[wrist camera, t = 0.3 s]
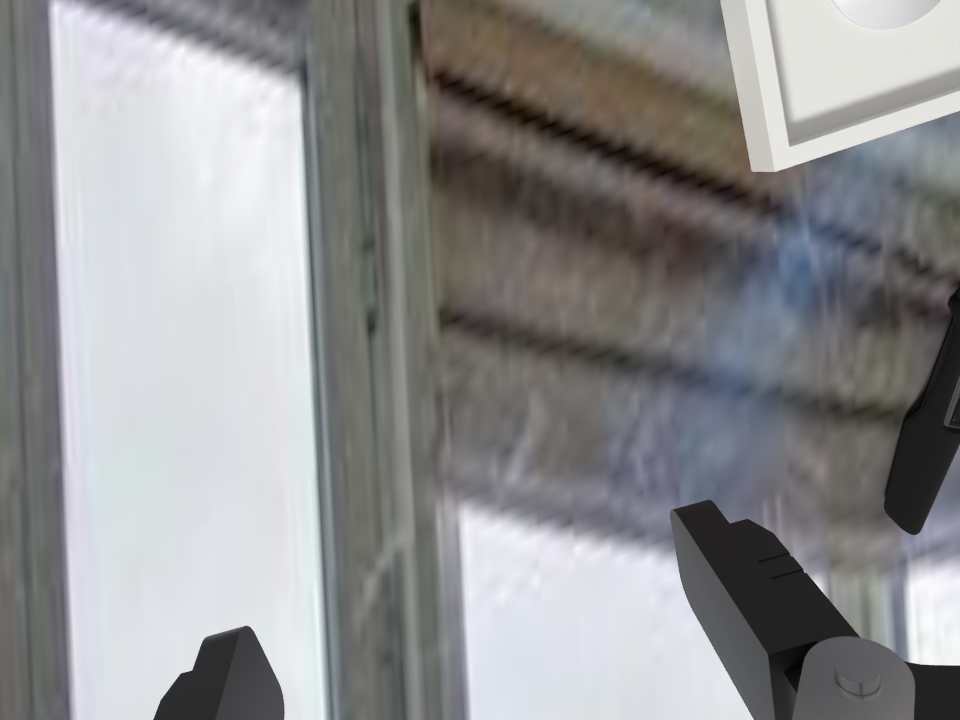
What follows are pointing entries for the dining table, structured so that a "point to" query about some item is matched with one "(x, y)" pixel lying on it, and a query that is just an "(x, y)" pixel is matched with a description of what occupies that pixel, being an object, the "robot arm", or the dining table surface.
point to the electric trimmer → (928, 438)
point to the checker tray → (839, 72)
